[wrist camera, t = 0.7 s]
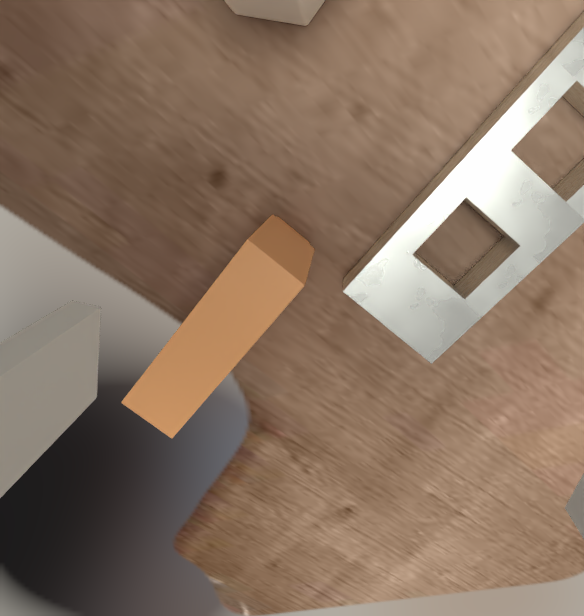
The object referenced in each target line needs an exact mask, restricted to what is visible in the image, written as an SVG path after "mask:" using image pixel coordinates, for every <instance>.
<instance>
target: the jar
mask: <svg viewBox="0 0 584 616" xmlns="http://www.w3.org/2000/svg"><path fill="white" fill-rule="evenodd" d="M224 1H225V3H226V4H227V5H228V6H229V7H230V8H231V10H232V11H233V12H234V13H235V14H237V15H242V16H249V17H255V18H261V19H267V20H273V21H279V22H285V23H291V24H297V25H303V26H306V25H308V24H309V23H310V21H311V20H312V18H313V17H314V16H315V14H316V13H317V11H318V10H319V8H320V7H321V6H322V4H323V3H324V1H325V0H224Z"/></svg>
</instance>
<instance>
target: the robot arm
mask: <svg viewBox="0 0 584 616" xmlns="http://www.w3.org/2000/svg"><path fill="white" fill-rule="evenodd" d="M100 320H101V307H99V306H95V305H90V304H86V303H81V302H77V301H73V300H72V301H70V302H69V303H67V304H65V305H64V306H62V307H60V308H59V309H57V310H55V311H54V312H52V313H50V314H49V315H47V316H45V317H43V318H42V319H40V320H38V321H36V322H35V323H33V324H31V325H30V326H28V327H26V328H25V329H23V330H21V331H19V332H18V333H16V334H14V335H13V336H11V337H9V338H8V339H6V340H4V341H2V342H1V343H0V498H1V497H2V496H3V494H4V493H5V492H6V491H7V490H8V489H9V488H10V487H11V486H12V485H13V484H14V483H15V482H16V481H17V480H18V479H19V478H20V477H21V476H22V475H23V473H25V471H27V469H28V468H29V467H30V466H31V465H32V464H33V463H34V462H35V461H36V460H37V459H38V458H39V457H40V456H41V455H42V454H43V453H44V452H45V451H46V450H47V449H48V448H49V447H50V446H51V445H52V443H53V442H54V441H55V440H56V439H57V438H58V437H59V436H60V435H61V434H62V433H63V432H64V431H65V430H66V429H67V428H68V427H69V426H70V425H71V424H72V423H73V422H74V421H75V420H76V419H77V417H78V416H79V415H80V414H81V413H82V412H83V411H84V410H85V409H86V408H87V407H88V406H89V405H90V404H91V403H92V402H93V401H94V400H95V399H96V398H97V381H98V361H99V340H100ZM565 509H566V511H567V512H568V514H569V515H570V517H571V519H572V520H573V522H574V524H575V525H576V527H577V529H578V530H579V532H580V534H581V535H582V537H583V539H584V474H583V475H582V477H581V479H580V481H579V483H578V485H577V486H576V488H575V490H574V492H573V494H572V495H571V497H570V499H569V501H568V503H567V505H566V506H565Z"/></svg>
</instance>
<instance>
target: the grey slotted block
mask: <svg viewBox="0 0 584 616" xmlns="http://www.w3.org/2000/svg"><path fill="white" fill-rule="evenodd" d="M562 96H563V97H564V98H565V99H566V100H567V101H568V102H569V103H570V104H571V105H572V106H573V107H574V108H575V109H576V110H577V111H578V112H579V113H580V114H581V115H582V116H583V117H584V11H583V13H582V14H581V15H580V16H579V17H578V18H577V19H576V20H575V21H574V23H573V24H572V25H571V26H570V27H569V28H568V29H567V30H566V31H565V33H564V34H563V35H562V36H561V37H560V38H559V39H558V40H557V42H556V43H555V44H554V45H553V46H552V47H551V48H550V49H549V50H548V52H547V53H546V54H545V55H544V56H543V57H542V58H541V59H540V60H539V62H538V63H537V64H536V65H535V66H534V67H533V68H532V69H531V70H530V72H529V73H528V74H527V75H526V76H525V77H524V78H523V79H522V80H521V82H520V83H519V84H518V85H517V86H516V87H515V88H514V89H513V90H512V92H511V93H510V94H509V95H508V96H507V97H506V98H505V99H504V100H503V102H502V103H501V104H500V105H499V106H498V107H497V108H496V109H495V110H494V112H493V113H492V114H491V115H490V116H489V117H488V118H487V119H486V120H485V122H484V123H483V124H482V125H481V126H480V127H479V128H478V129H477V130H476V132H475V133H474V134H473V135H472V136H471V137H470V138H469V139H468V140H467V142H466V143H465V144H464V145H463V146H462V147H461V148H460V149H459V150H458V152H457V153H456V154H455V155H454V156H453V157H452V158H451V159H450V160H449V162H448V163H447V164H446V165H445V166H444V167H443V168H442V169H441V170H440V172H439V173H438V174H437V175H436V176H435V177H434V178H433V179H432V180H431V182H430V183H429V184H428V185H427V186H426V187H425V188H424V189H423V190H422V192H421V193H420V194H419V195H418V196H417V197H416V198H415V199H414V200H413V202H412V203H411V204H410V205H409V206H408V207H407V208H406V209H405V210H404V212H403V213H402V214H401V215H400V216H399V217H398V218H397V219H396V220H395V222H394V223H393V224H392V225H391V226H390V227H389V228H388V229H387V231H386V232H385V233H384V234H383V235H382V236H381V237H380V238H379V239H378V241H377V242H376V243H375V244H374V245H373V246H372V247H371V248H370V249H369V251H368V252H367V253H366V254H365V255H364V256H363V257H362V258H361V259H360V261H359V262H358V263H357V264H356V265H355V266H354V267H353V268H352V269H351V271H350V272H349V273H348V274H347V275H346V276H345V277H344V278H343V292H344V293H345V294H347V295H348V296H349V297H350V298H352V299H353V300H354V301H355V302H356V303H358V304H359V305H360V306H361V307H363V308H364V309H365V310H366V311H367V312H369V313H370V314H371V315H372V316H374V317H375V318H376V319H377V320H379V321H380V322H381V323H382V324H383V325H385V326H386V327H387V328H388V329H390V330H391V331H392V332H393V333H394V334H396V335H397V336H398V337H399V338H401V339H402V340H403V341H404V342H406V343H407V344H408V345H409V346H410V347H412V348H413V349H414V350H415V351H417V352H418V353H419V354H420V355H421V356H423V357H424V358H425V359H426V360H428V361H429V362H430V363H431V364H432V363H433V362H434V361H435V360H436V359H437V358H438V357H439V356H440V355H441V354H442V353H444V352H445V351H446V350H447V349H448V348H449V347H450V346H451V345H452V344H453V343H454V342H455V341H457V340H458V339H459V338H460V337H461V336H462V335H463V334H464V333H465V332H466V331H467V330H468V329H469V328H471V327H472V326H473V325H474V324H475V323H476V322H477V321H478V320H479V319H480V318H481V317H482V316H484V315H485V314H486V313H487V312H488V311H489V310H490V309H491V308H492V307H493V306H494V305H495V304H496V303H498V302H499V301H500V300H501V299H502V298H503V297H504V296H505V295H506V294H507V293H508V292H509V291H510V290H512V289H513V288H514V287H515V286H516V285H517V284H518V283H519V282H520V281H521V280H522V279H523V278H525V277H526V276H527V275H528V274H529V273H530V272H531V271H532V270H533V269H534V268H535V267H536V266H537V265H539V264H540V263H541V262H542V261H543V260H544V259H545V258H546V257H547V256H548V255H549V254H550V253H552V252H553V251H554V250H555V249H556V248H557V247H558V246H559V245H560V244H561V243H562V242H563V241H564V240H566V239H567V238H568V237H569V236H570V235H571V234H572V233H573V232H574V231H575V230H576V229H577V228H579V227H580V226H581V225H582V224H583V223H584V159H583V160H582V161H581V162H580V163H579V164H578V165H577V166H575V167H574V168H573V169H572V170H571V171H570V172H569V173H568V174H567V175H566V176H565V177H564V178H563V179H562V180H561V181H560V182H559V183H558V184H557V185H556V186H555V187H554V188H553V189H551V188H550V187H549V186H548V185H547V184H546V183H545V182H544V181H543V180H542V179H541V178H540V177H539V176H538V175H536V174H535V173H534V172H533V171H532V170H531V169H530V168H529V167H528V166H527V165H526V164H525V163H524V162H523V161H521V160H520V159H519V158H518V157H517V156H516V155H515V154H514V153H513V152H512V151H511V149H512V148H513V147H514V146H515V145H516V144H517V143H518V142H519V141H520V140H521V139H522V138H523V137H524V136H525V135H526V134H527V133H528V131H529V130H530V129H531V128H532V127H533V126H534V125H535V124H536V123H537V122H538V121H539V120H540V119H541V118H542V117H543V116H544V115H545V114H546V112H547V111H548V110H549V109H550V108H551V107H552V106H553V105H554V104H555V103H556V102H557V101H558V100H559V99H560V98H561V97H562ZM463 200H464V201H465V202H467V203H468V204H469V205H470V206H471V207H472V208H473V209H474V210H475V211H477V212H478V213H479V214H480V215H481V216H482V217H483V218H484V219H486V220H487V221H488V222H489V223H490V224H491V225H492V226H493V227H495V228H496V229H497V230H498V231H499V232H500V233H501V234H502V235H503V236H504V237H503V238H502V239H501V240H500V241H499V242H498V243H497V244H496V245H495V246H494V247H493V248H492V249H491V250H490V251H489V252H488V253H487V254H486V255H485V256H484V257H483V258H482V259H481V260H480V261H479V262H478V263H477V264H476V265H475V266H474V267H473V268H472V269H471V270H470V271H469V272H468V273H467V274H466V275H465V276H464V277H463V278H462V279H461V280H459V281H458V282H457V283H456V284H455V285H453V284H451V283H450V282H449V281H448V280H447V279H446V278H444V277H443V276H442V275H441V274H440V273H439V272H437V271H436V270H435V269H434V268H433V267H432V266H430V265H429V264H428V263H427V262H426V261H425V260H423V259H422V258H421V257H420V256H419V255H418V254H416V253H415V251H416V250H417V249H418V248H419V247H420V246H421V245H422V244H423V243H424V241H425V240H426V239H427V238H428V237H429V236H430V235H431V234H432V233H433V232H434V231H435V230H436V229H437V228H438V227H439V226H440V225H441V223H442V222H443V221H444V220H445V219H446V218H447V217H448V216H449V215H450V214H451V213H452V212H453V211H454V210H455V209H456V208H457V207H458V206H459V204H460V203H461V202H462V201H463Z"/></svg>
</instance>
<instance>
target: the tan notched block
mask: <svg viewBox="0 0 584 616" xmlns="http://www.w3.org/2000/svg"><path fill="white" fill-rule="evenodd" d="M314 250H315V249H314V248H313V247H312V246H311V245H310V242H308V241H307V240H306V239H305V238H304V237H302V236H301V235H300V234H299V233H298V232H296V231H295V230H294V229H293V228H292V227H290V226H289V225H288V224H287V223H285V222H284V221H283V220H282V219H281V218H279V217H278V216H277V217H275V216H274V215H273V214H272V215H271V216H270V217H269V218H268V219H267V220H266V221H265V222H264V223H263V224H262V225H261V226H260V227H259V228H258V229H257V230H256V231H255V232H254V233H253V234H252V235H251V236H250V237H249V238H248V239H247V240H246V242H245V243H244V244H243V246H242V247H241V248H240V249H239V251H238V252H237V253H236V255H235V256H234V257H233V258H232V260H231V261H230V262H229V264H228V265H227V266H226V268H225V269H224V270H223V271H222V273H221V274H220V275H219V277H218V278H217V279H216V280H215V282H214V283H213V284H212V286H211V287H210V288H209V290H208V291H207V292H206V293H205V295H204V296H203V297H202V299H201V300H200V301H199V302H198V304H197V305H196V306H195V308H194V309H193V310H192V312H191V313H190V314H189V315H188V317H187V318H186V319H185V321H184V322H183V323H182V324H181V326H180V327H179V328H178V330H177V331H176V332H175V333H174V335H173V336H172V337H171V339H170V340H169V341H168V343H167V344H166V345H165V346H164V348H163V349H162V350H161V352H160V353H159V354H158V355H157V357H156V358H155V359H154V361H153V362H152V363H151V365H150V366H149V367H148V368H147V370H146V371H145V372H144V374H143V375H142V376H141V378H140V379H139V380H138V381H137V383H136V384H135V385H134V387H133V388H132V389H131V390H130V392H129V393H128V394H127V396H126V397H125V398H124V399H123V401H122V402H121V403H122V404H124V405H125V406H127V407H128V408H129V409H131V410H132V411H134V412H135V413H137V414H138V415H140V416H141V417H142V418H144V419H145V420H146V421H148V422H149V423H151V424H152V425H153V426H155V427H156V428H158V429H159V430H161V431H162V432H163V433H165V434H166V435H167V436H169V437H171V438H173V437H174V436H175V435H176V433H177V432H178V431H179V430H180V429H181V428H182V427H183V425H184V424H185V423H186V422H187V421H188V420H189V418H190V417H191V416H192V415H193V414H194V413H195V411H196V410H197V409H198V408H199V407H200V406H201V404H202V403H203V402H204V401H205V400H206V399H207V398H208V397H209V395H210V394H211V393H212V392H213V391H214V390H215V388H216V387H217V386H218V385H219V384H220V383H221V381H222V380H223V379H224V378H225V377H226V376H227V375H228V373H229V372H230V371H231V370H232V369H233V368H234V367H235V365H236V364H237V363H238V362H239V361H240V360H241V358H242V357H243V356H244V355H245V354H246V353H247V352H248V350H249V349H250V348H251V347H252V346H253V345H254V343H255V342H256V341H257V340H258V339H259V338H260V337H261V335H262V334H263V333H264V332H265V331H266V330H267V328H268V327H269V326H270V325H271V324H272V323H273V322H274V320H275V319H276V318H277V317H278V316H279V315H280V313H281V312H282V311H283V310H284V309H285V308H286V307H287V305H288V304H289V303H290V302H291V301H292V300H293V298H294V297H295V296H296V295H297V294H298V293H299V292H300V290H301V289H302V288H303V287H304V286H305V283H306V279H307V276H308V272H309V269H310V265H311V261H312V258H313V254H314Z"/></svg>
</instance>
